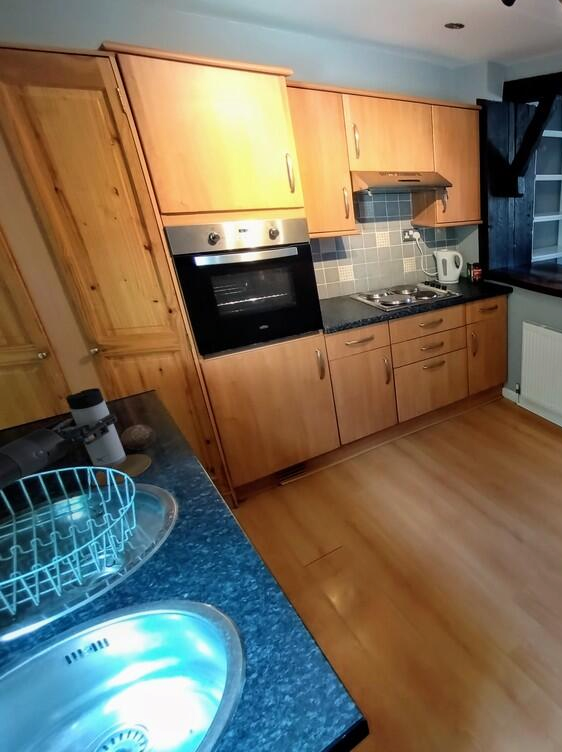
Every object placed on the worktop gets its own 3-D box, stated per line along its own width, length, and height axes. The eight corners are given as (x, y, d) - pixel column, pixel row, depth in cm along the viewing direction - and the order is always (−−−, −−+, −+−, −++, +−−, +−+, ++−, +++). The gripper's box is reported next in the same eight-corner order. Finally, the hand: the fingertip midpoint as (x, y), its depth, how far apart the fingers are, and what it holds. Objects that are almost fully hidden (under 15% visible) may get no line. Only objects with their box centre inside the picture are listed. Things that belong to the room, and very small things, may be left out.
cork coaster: (80, 492, 109) (80, 490, 109) (94, 463, 119) (94, 462, 119) (146, 476, 115) (146, 474, 115) (154, 450, 125) (154, 449, 125)
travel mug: (105, 472, 110) (75, 399, 102) (88, 466, 112) (57, 394, 104) (133, 458, 116) (106, 388, 108) (116, 453, 118) (88, 383, 110)
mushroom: (115, 435, 126) (120, 420, 124) (150, 433, 133) (156, 420, 130) (118, 458, 123) (125, 443, 120) (154, 455, 129) (161, 441, 126)
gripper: (7, 466, 98) (82, 427, 114) (65, 471, 97) (134, 430, 112) (-9, 437, 95) (71, 400, 111) (52, 441, 94) (124, 404, 109)
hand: (102, 416), depth 111 cm, fingers closed on travel mug, 6 cm apart
